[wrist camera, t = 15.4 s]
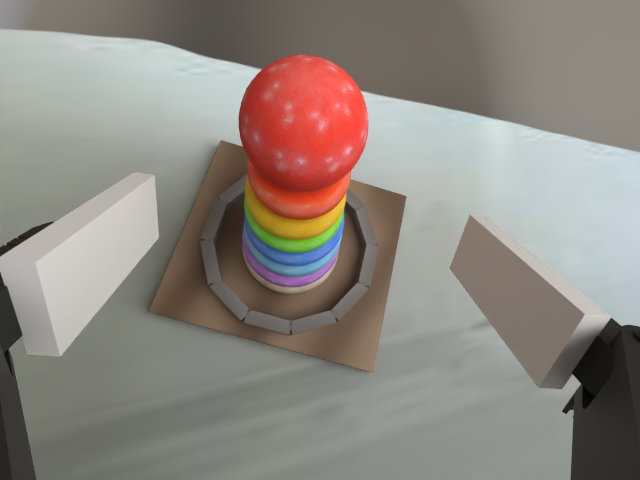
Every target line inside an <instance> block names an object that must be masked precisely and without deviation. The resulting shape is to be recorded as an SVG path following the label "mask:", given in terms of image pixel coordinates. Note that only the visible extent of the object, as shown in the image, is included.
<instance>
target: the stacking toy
mask: <svg viewBox="0 0 640 480" xmlns="http://www.w3.org/2000/svg"><path fill="white" fill-rule="evenodd" d="M239 131H240V137H241V141H242V145H243V148H244V150H245V152H246V154H247V156H248V158H249V159H248V165H247V173H248V176H247V180H246V184H245V200H244V209H245V221H244V228H243V234H242V251H243V257H244V261H245V263H246V266H247V268H248V270H249V271H250V273H251V274H252V275H253V277H254V278H255V279H256V280H257V281H259V282H260V283H261V284H262V285H264V286H265V287H267V288H269V289H271V290H273V291H276V292H280V293H285V294H297V293H303V292H306V291H309V290H311V289H313V288H315V287H317V286H318V285H320V284H321V283H323V282H324V281H325V280H326V279H327V278H328V276H329V275H330V274H331V272H332V271H333V269H334V267H335V265H336V262H337V259H338V254H339V249H340V243H341V238H342V232H343V227H344V207H345V203H346V192H347V190H348V187H349V183H350V178H351V170H352V169H353V168H354V166H355V164H356V163H357V161H358V160H359V158H360V156H361V154H362V152H363V150H364V147H365V144H366V140H367V135H368V114H367V108H366V104H365V101H364V98H363V95H362V93H361V91H360V89H359V88H358V86H357V84H356V83H355V82H354V80H353V79H352V78H351V77H350V76H349V75H348V74H347V73H346V72H345V71H344V70H343V69H342V68H340V67H339V66H337V65H336V64H334V63H333V62H331V61H328V60H326V59H323V58H320V57H316V56H310V55H293V56H289V57H285V58H281V59H279V60H277V61H275V62H273V63H271V64H269V65H268V66H266V67H265V68H264V69H263V70H261V71H260V72H259V73H258V74H257V75H256V77H255V78H254V79H253V80H252V81H251V83H250V84H249V86H248V87H247V89H246V91H245V94H244V96H243V99H242V102H241V107H240V112H239Z"/></svg>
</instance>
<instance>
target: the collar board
mask: <svg viewBox="0 0 640 480" xmlns="http://www.w3.org/2000/svg"><path fill="white" fill-rule="evenodd" d="M248 159H249V158H248V156H247V154H246V152H245V150H244V148H243V147H242V146H238V145H235V144H232V143H228V142H225V141H222V140H221V141H220V143H219V146H218V148H217V151H216V153H215V155H214V158H213V160H212V162H211V165H210V167H209V170H208V172H207V174H206V177H205V179H204V181H203V184H202V186H201V189H200V191H199V193H198V196H197V198H196V200H195V203H194V205H193V208H192V210H191V212H190V215H189V217H188V219H187V222H186V224H185V226H184V229H183V231H182V234H181V236H180V238H179V241H178V243H177V245H176V248H175V250H174V253H173V255H172V257H171V260H170V262H169V264H168V267H167V269H166V272H165V274H164V276H163V279H162V281H161V283H160V286H159V288H158V291H157V293H156V295H155V298H154V300H153V302H152V305H151V307H150V309H149V312H153V313H156V314H160V315H164V316H167V317H171V318H175V319H178V320H182V321H186V322H189V323H193V324H197V325H200V326H204V327H208V328H211V329H215V330H219V331H222V332H226V333H230V334H233V335H237V336H241V337H244V338H248V339H252V340H255V341H259V342H263V343H266V344H270V345H274V346H278V347H281V348H285V349H289V350H292V351H296V352H300V353H303V354H307V355H311V356H314V357H318V358H322V359H325V360H329V361H333V362H336V363H340V364H344V365H347V366H351V367H355V368H358V369H362V370H366V371H369V372H373V370H374V365H375V360H376V354H377V349H378V344H379V339H380V333H381V328H382V323H383V317H384V312H385V307H386V302H387V296H388V291H389V286H390V280H391V275H392V270H393V264H394V259H395V254H396V249H397V243H398V238H399V233H400V227H401V222H402V217H403V212H404V206H405V201H406V196H404V195H401V194H397V193H394V192H391V191H387V190H384V189H381V188H377V187H374V186H371V185H367V184H364V183H361V182H358V181H354V180H351V179H350V183H349V187H348V190H347V192H346V203H345V207H344V227H343V232H342V238H341V243H340V249H339V254H338V259H337V262H336V265H335V267H334V269H333V271H332V272H331V274H330V275H329V276H328V278H327V279H326V280H325V281H324V282H323V283H321V284H320V285H318V286H317V287H315V288H313V289H311V290H309V291H306V292H303V293H297V294H285V293H280V292H276V291H273V290H271V289H269V288H267V287H265V286H264V285H262V284H261V283H260V282H259V281H257V280H256V279H255V278H254V277H253V275H252V274H251V273H250V271H249V270H248V268H247V266H246V263H245V261H244V257H243V251H242V234H243V228H244V221H245V209H244V200H245V184H246V180H247V176H248V173H247V165H248Z"/></svg>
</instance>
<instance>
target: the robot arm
mask: <svg viewBox="0 0 640 480" xmlns="http://www.w3.org/2000/svg"><path fill="white" fill-rule="evenodd" d="M158 238H159V230H158V216H157V202H156V188H155V175H153V174H145V173H137V172H133V173H132V174H130V175H129V176H127V177H125V178H124V179H122V180H121V181H119V182H117V183H116V184H114V185H113V186H111V187H110V188H108V189H106V190H105V191H103V192H102V193H100V194H98V195H97V196H95V197H94V198H92V199H91V200H89V201H87V202H86V203H84V204H83V205H81V206H79V207H78V208H76V209H75V210H73V211H72V212H70V213H68V214H67V215H65V216H64V217H62V218H60V219H59V220H57V221H56V222H49V223H46V224H43V225H40V226H37V227H34V228H32V229H30V230H28V231H27V232H25V233H23V234H22V235H20V236H18V238H15V239H13V240H12V241H10V242H8V243H7V245H6V246H5V245H3V246H2V247H0V480H36V476H35V471H34V466H33V461H32V456H31V451H30V446H29V441H28V436H27V431H26V426H25V421H24V416H23V411H22V406H21V401H20V396H19V391H18V386H17V381H16V376H15V371H14V366H13V361H12V357H11V354H10V351H9V348H10V347H11V346H12V345H13V344H14V343H15V342H16V341H17V340H18V339H19V338H20V337H22V340H23V343H24V346H25V349H26V352H27V354H28V355H43V356H59V357H60V356H61V355H62V354H63V353H64V352H65V350H66V349H67V348H68V347H69V346H70V344H71V343H72V342H73V341H74V340H75V338H76V337H77V336H78V335H79V334H80V332H81V331H82V330H83V329H84V327H85V326H86V325H87V324H88V323H89V321H90V320H91V319H92V318H93V317H94V315H95V314H96V313H97V312H98V311H99V309H100V308H101V307H102V306H103V305H104V303H105V302H106V301H107V300H108V299H109V297H110V296H111V295H112V294H113V292H114V291H115V290H116V289H117V288H118V286H119V285H120V284H121V283H122V282H123V280H124V279H125V278H126V277H127V276H128V274H129V273H130V272H131V271H132V270H133V268H134V267H135V266H136V265H137V263H138V262H139V261H140V260H141V259H142V257H143V256H144V255H145V254H146V253H147V251H148V250H149V249H150V248H151V247H152V245H153V244H154V243H155V242H156V241H157V239H158ZM450 269H451V271H452V272H453V273H454V275H455V276H456V277H457V279H458V280H459V282H460V283H461V284H462V286H463V287H464V288H465V290H466V291H467V292H468V294H469V295H470V296H471V298H472V299H473V300H474V302H475V303H476V304H477V306H478V307H479V308H480V310H481V311H482V312H483V314H484V315H485V316H486V318H487V319H488V320H489V322H490V323H491V325H492V326H493V327H494V329H495V330H496V331H497V333H498V334H499V335H500V337H501V338H502V339H503V341H504V342H505V343H506V345H507V346H508V347H509V349H510V350H511V351H512V353H513V354H514V355H515V357H516V358H517V359H518V361H519V362H520V363H521V365H522V366H523V368H524V369H525V370H526V372H527V373H528V374H529V376H530V377H531V378H532V380H533V381H534V382H535V384H536V385H537V386H538V388H553V389H562V388H563V387H564V385H565V384H566V382H567V381H568V379H569V378H570V376H571V375H572V374H573V375H574V376H575V377H576V378H577V379H578V380H579V382H580V383H581V385H580V386H579V388H578V389H577V390H576V392H575V393H574V395H573V396H572V397H571V399H570V400H569V402H568V403H567V404H566V406H565V407H564V409H563V411H562V412H564V413H566V414H567V412H568V411H569V410H573V409H574V416H573V418H574V419H573V441H572V463H571V480H640V327H638V326H633V325H624V326H621V325H619V324H618V323H617V322H616V321H614V320H613V319H612V318H611V316H610V315H609V314H607V313H606V312H605V311H604V310H602V309H601V308H600V307H599V306H597V305H596V304H595V303H594V302H592V301H591V300H590V299H589V298H587V297H586V296H585V295H584V294H582V293H581V292H580V291H579V290H577V289H576V288H575V287H574V286H572V285H571V284H570V283H569V282H567V281H566V280H565V279H564V278H562V277H561V276H560V275H559V274H557V273H556V272H555V271H554V270H552V269H551V268H550V267H549V266H547V265H546V264H545V263H544V262H542V261H541V260H540V259H539V258H537V257H536V256H535V255H534V254H532V253H531V252H530V251H529V250H527V249H526V248H525V247H524V246H522V245H521V244H520V243H519V242H517V241H516V240H515V239H514V238H512V237H511V236H510V235H509V234H507V233H506V232H505V231H504V230H502V229H501V228H500V227H499V226H497V225H496V224H495V223H494V222H492V221H491V220H490V219H489V218H487V217H485V216H477V215H470V216H469V219H468V221H467V224H466V226H465V229H464V232H463V234H462V237H461V240H460V242H459V245H458V248H457V250H456V253H455V255H454V258H453V261H452V263H451V266H450Z"/></svg>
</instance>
